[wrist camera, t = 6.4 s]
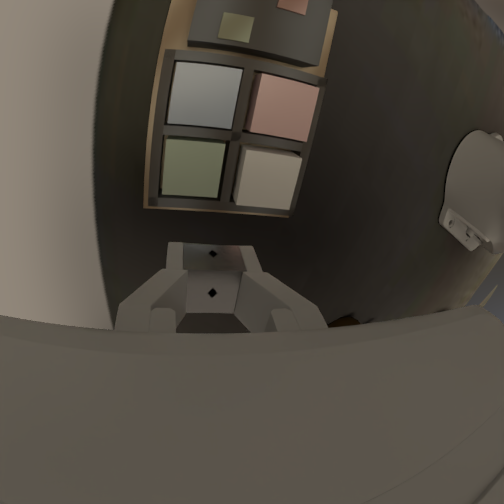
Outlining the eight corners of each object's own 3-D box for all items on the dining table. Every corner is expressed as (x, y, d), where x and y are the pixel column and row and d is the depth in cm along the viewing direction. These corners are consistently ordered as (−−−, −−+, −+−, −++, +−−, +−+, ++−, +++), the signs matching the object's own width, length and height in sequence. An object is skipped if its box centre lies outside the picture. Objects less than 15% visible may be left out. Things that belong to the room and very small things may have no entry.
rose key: (308, 87, 18) (319, 88, 16) (296, 136, 20) (306, 142, 18) (255, 74, 17) (262, 73, 15) (244, 127, 19) (250, 131, 17)
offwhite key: (292, 152, 21) (302, 158, 19) (281, 199, 23) (289, 209, 21) (241, 144, 20) (246, 149, 18) (232, 194, 22) (236, 205, 20)
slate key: (237, 71, 16) (242, 69, 15) (227, 125, 19) (230, 129, 17) (178, 64, 15) (177, 61, 14) (169, 119, 17) (167, 123, 16)
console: (332, 13, 16) (358, 5, 13) (285, 212, 26) (300, 235, 23) (179, -20, 12) (178, -40, 9) (144, 203, 23) (138, 226, 19)
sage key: (222, 139, 20) (225, 144, 19) (214, 188, 22) (216, 197, 21) (168, 134, 19) (166, 139, 17) (163, 185, 21) (161, 194, 20)
